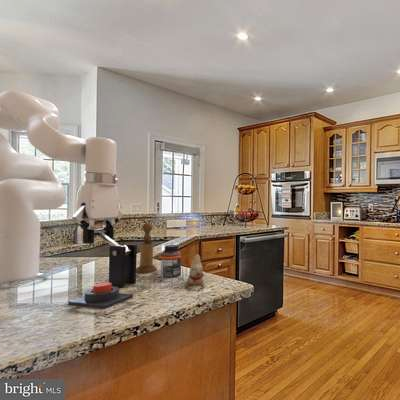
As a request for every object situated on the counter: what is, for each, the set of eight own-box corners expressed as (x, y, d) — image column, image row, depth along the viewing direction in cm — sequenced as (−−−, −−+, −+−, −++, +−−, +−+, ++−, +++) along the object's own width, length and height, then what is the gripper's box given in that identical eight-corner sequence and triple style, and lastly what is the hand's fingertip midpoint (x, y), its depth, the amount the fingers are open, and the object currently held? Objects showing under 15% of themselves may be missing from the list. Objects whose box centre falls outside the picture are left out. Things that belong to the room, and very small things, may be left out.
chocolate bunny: (180, 291, 80) (181, 256, 80) (190, 283, 88) (190, 251, 88) (200, 291, 80) (201, 256, 80) (208, 283, 88) (208, 251, 88)
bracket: (94, 292, 77) (96, 246, 77) (119, 284, 85) (120, 242, 85) (125, 296, 75) (127, 248, 75) (147, 287, 83) (149, 244, 83)
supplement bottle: (168, 276, 95) (169, 243, 95) (184, 278, 94) (185, 244, 94) (156, 281, 89) (157, 246, 89) (173, 283, 88) (173, 246, 88)
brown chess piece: (147, 278, 93) (148, 223, 93) (130, 276, 94) (132, 223, 94) (160, 273, 99) (162, 222, 100) (145, 272, 101) (146, 222, 101)
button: (88, 293, 65) (89, 285, 65) (102, 288, 69) (103, 281, 69) (101, 294, 65) (101, 287, 65) (115, 290, 68) (115, 282, 68)
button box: (67, 311, 64) (68, 293, 64) (99, 299, 72) (100, 284, 72) (104, 315, 62) (104, 297, 62) (132, 303, 70) (133, 287, 70)
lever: (87, 235, 80) (91, 228, 79) (103, 234, 85) (106, 227, 84) (117, 259, 77) (121, 252, 77) (132, 256, 82) (135, 249, 82)
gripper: (114, 182, 91) (113, 238, 91) (59, 177, 74) (57, 245, 74) (134, 182, 90) (132, 239, 89) (82, 177, 73) (80, 246, 73)
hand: (98, 241), depth 82 cm, fingers open, 5 cm apart
